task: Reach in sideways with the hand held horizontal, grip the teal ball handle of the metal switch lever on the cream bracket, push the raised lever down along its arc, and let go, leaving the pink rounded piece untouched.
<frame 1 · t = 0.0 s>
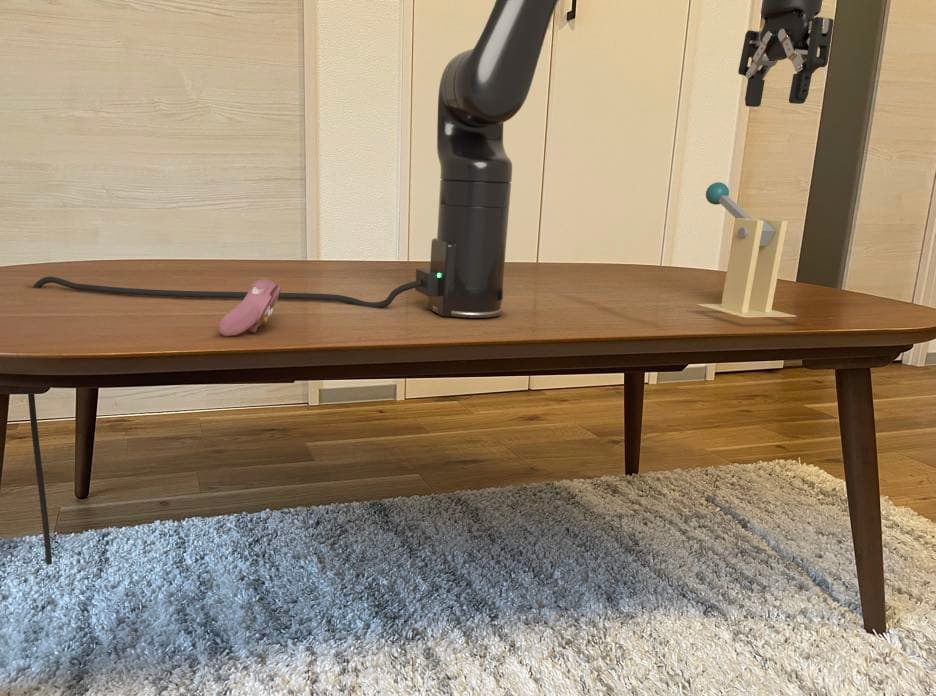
hand: (773, 105, 110), 29 cm above the table, tool pointing down, fingers open, 8 cm apart
bracket: (744, 318, 111), on the table
lever: (737, 212, 111), point 14 cm above the table, hinge at 26.0°
pink rounded piece: (252, 331, 90), on the table
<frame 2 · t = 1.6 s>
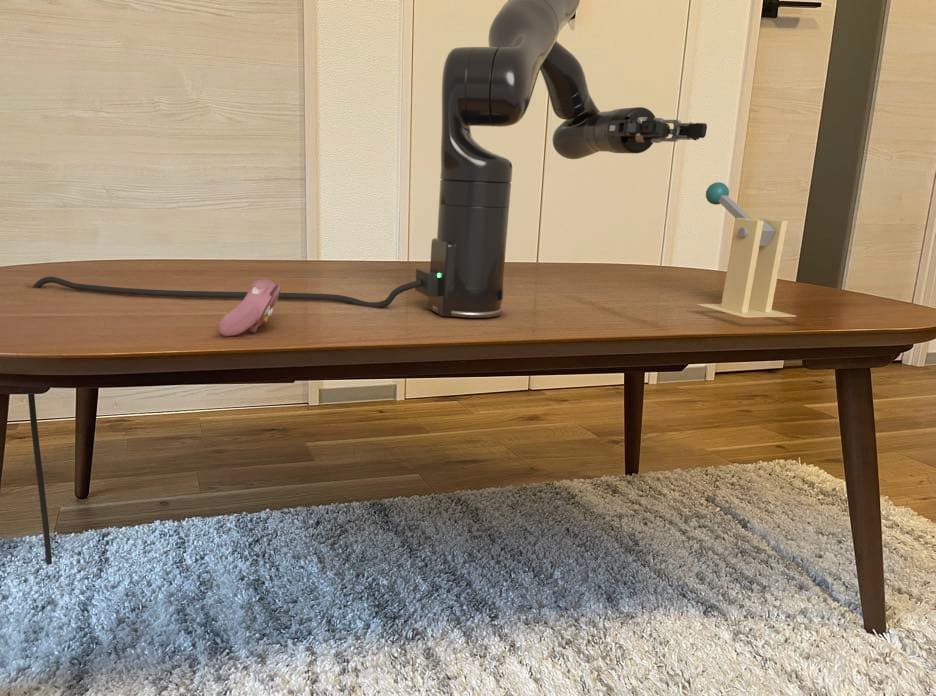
hand: (681, 129, 122), 26 cm above the table, tool horizontal, fingers open, 8 cm apart
nothing on the table moved.
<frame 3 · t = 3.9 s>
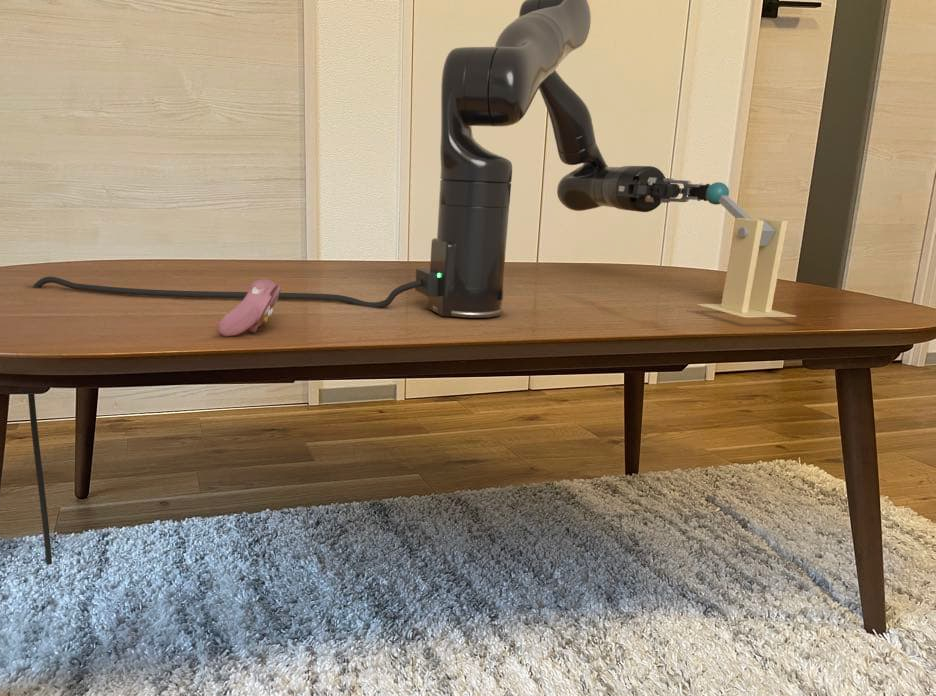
hand: (692, 192, 120), 17 cm above the table, tool horizontal, fingers open, 8 cm apart
nothing on the table moved.
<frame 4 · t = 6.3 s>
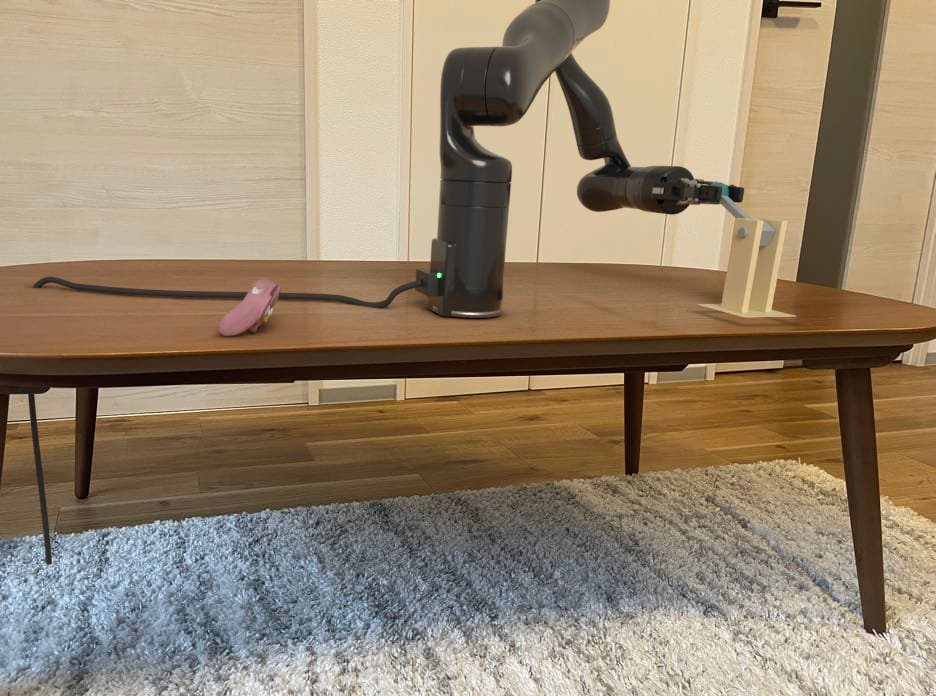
hand: (730, 194, 113), 17 cm above the table, tool horizontal, fingers closed on lever, 3 cm apart
lever: (737, 212, 111), point 14 cm above the table, hinge at 26.0°, touching gripper
everything else where it was.
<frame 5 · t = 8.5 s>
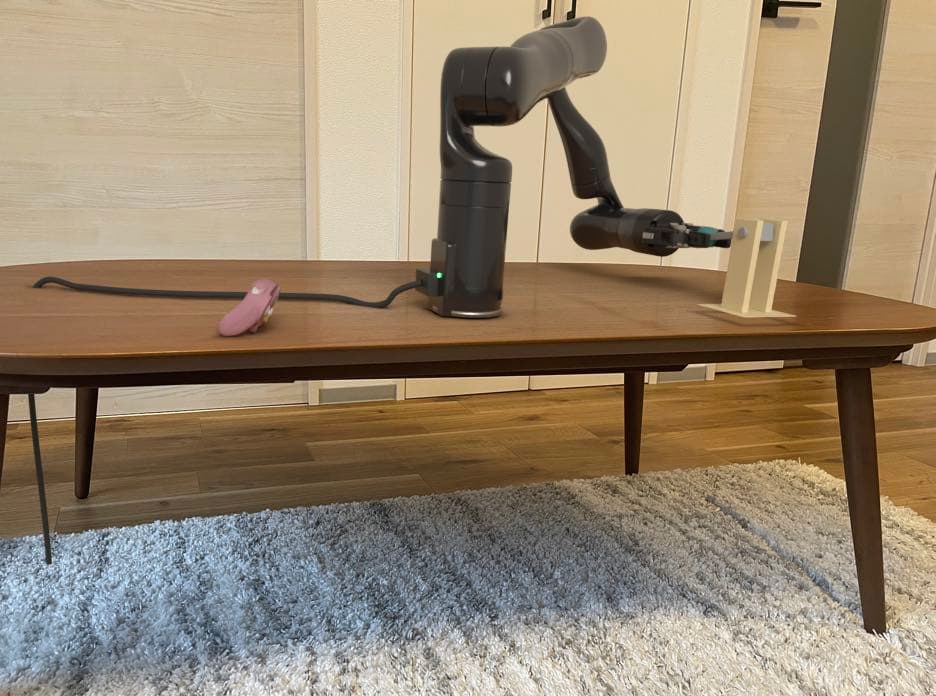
hand: (718, 240, 115), 10 cm above the table, tool horizontal, fingers closed on lever, 3 cm apart
lever: (730, 235, 113), point 11 cm above the table, hinge at -8.7°, touching gripper
everything else where it was.
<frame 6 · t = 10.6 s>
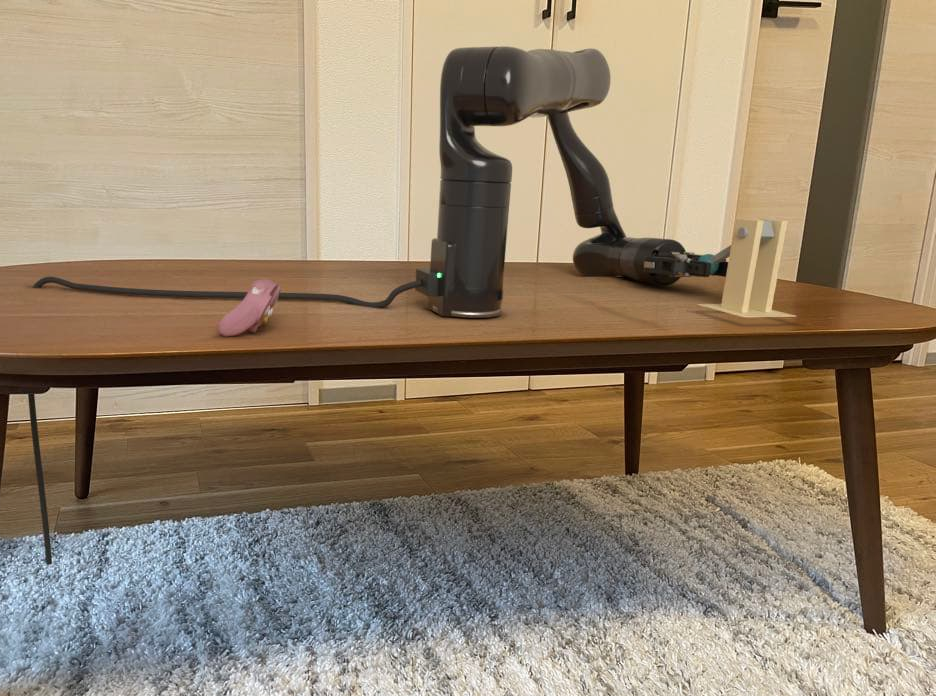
hand: (719, 269, 115), 6 cm above the table, tool horizontal, fingers open, 3 cm apart
lever: (731, 249, 113), point 9 cm above the table, hinge at -30.7°
everything else where it was.
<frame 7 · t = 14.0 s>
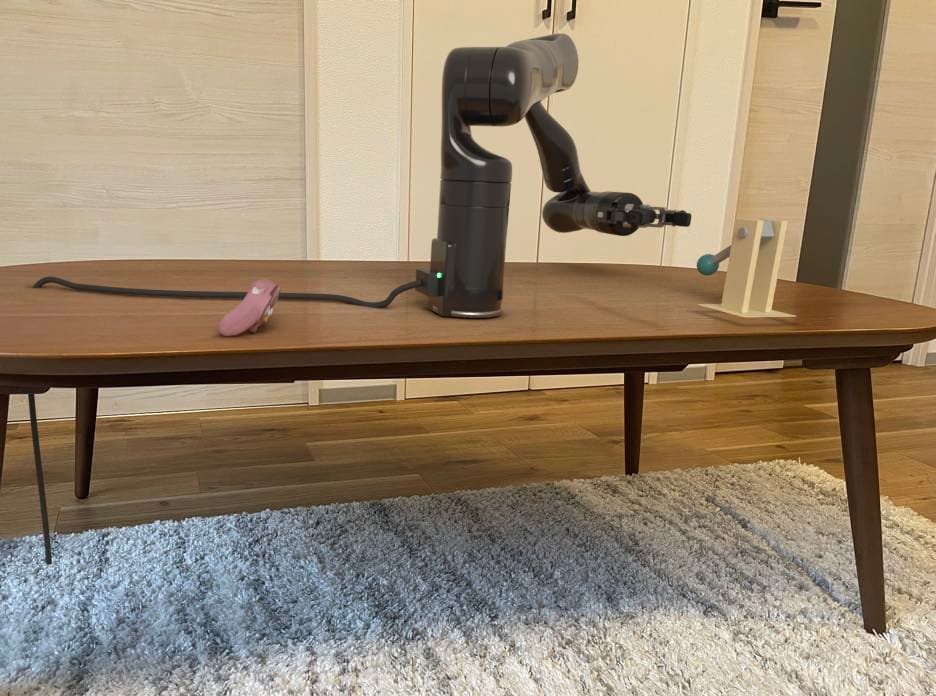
hand: (666, 219, 127), 12 cm above the table, tool horizontal, fingers open, 8 cm apart
nothing on the table moved.
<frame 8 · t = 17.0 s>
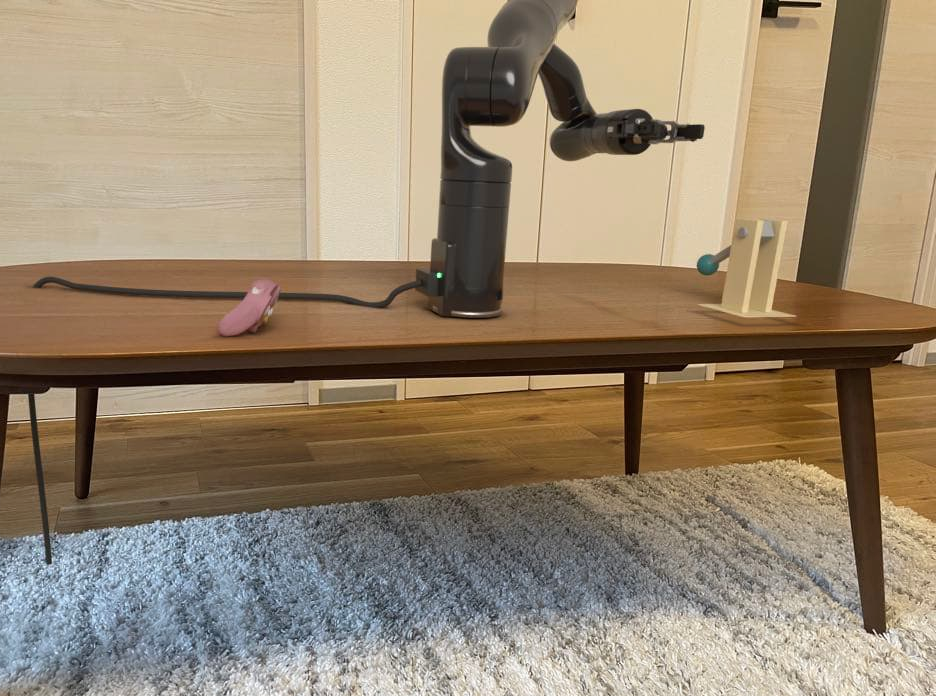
hand: (679, 130, 123), 26 cm above the table, tool horizontal, fingers open, 8 cm apart
nothing on the table moved.
at the end: lever at -31° (first picture: +26°); pink rounded piece moved 0.2 cm from its start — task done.
